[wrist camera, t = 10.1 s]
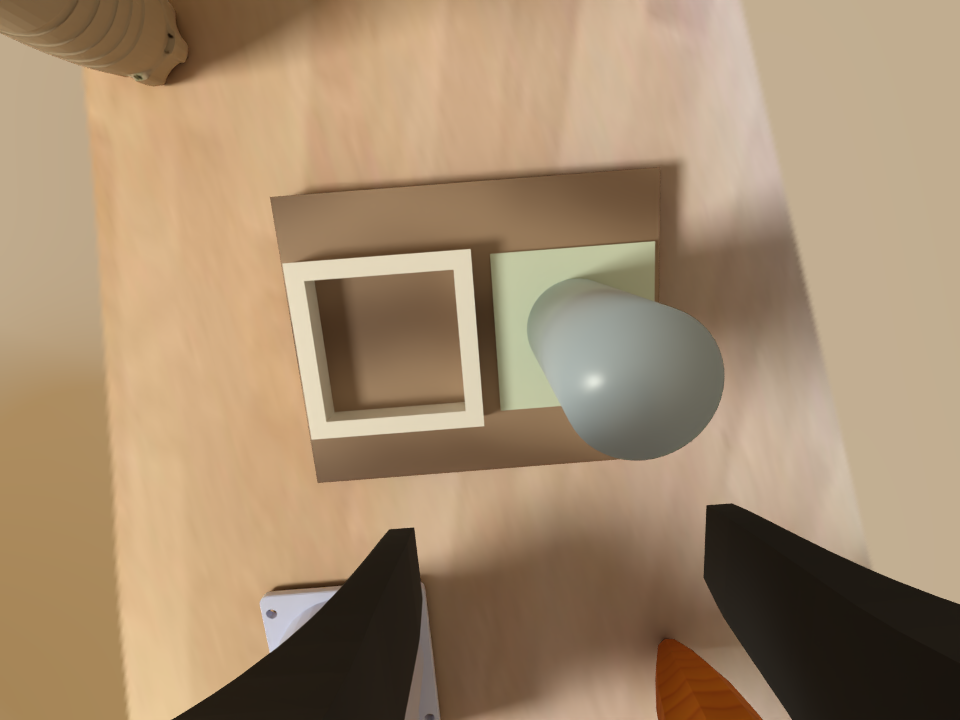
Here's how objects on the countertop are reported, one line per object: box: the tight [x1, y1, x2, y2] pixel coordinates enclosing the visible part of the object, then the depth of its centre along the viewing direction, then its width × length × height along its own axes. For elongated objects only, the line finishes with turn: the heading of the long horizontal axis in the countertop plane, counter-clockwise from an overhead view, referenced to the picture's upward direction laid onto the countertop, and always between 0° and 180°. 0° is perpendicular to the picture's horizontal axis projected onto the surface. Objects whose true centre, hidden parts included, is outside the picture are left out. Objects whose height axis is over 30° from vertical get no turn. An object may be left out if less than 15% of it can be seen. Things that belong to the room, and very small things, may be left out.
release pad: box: [490, 241, 655, 411], centre depth 20 cm, size 6×6×1 cm
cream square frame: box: [282, 249, 484, 440], centre depth 19 cm, size 7×7×1 cm
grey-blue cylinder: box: [527, 278, 724, 460], centre depth 16 cm, size 4×4×8 cm
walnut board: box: [270, 167, 660, 483], centre depth 20 cm, size 12×15×1 cm
